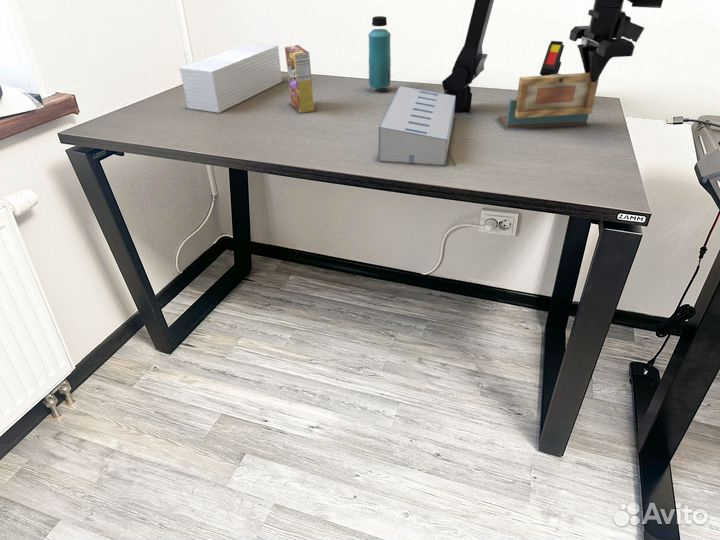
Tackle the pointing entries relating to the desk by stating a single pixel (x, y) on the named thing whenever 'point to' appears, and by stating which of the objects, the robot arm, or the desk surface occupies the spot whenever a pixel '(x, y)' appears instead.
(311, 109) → the candy box
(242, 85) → the stack of papers
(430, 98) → the warehouse
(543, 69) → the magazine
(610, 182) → the desk surface
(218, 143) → the desk surface
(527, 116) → the picture frame
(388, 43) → the beverage bottle
